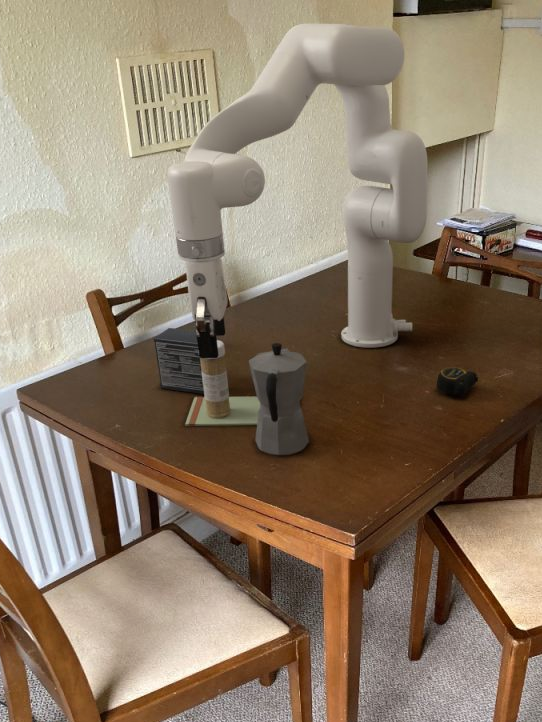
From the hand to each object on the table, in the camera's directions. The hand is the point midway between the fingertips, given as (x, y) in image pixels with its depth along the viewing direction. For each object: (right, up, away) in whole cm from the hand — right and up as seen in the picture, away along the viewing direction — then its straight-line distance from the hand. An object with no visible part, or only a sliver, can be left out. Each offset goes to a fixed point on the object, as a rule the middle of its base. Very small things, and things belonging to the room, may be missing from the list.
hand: (212, 345), depth 134 cm
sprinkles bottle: (0, -11, +7) cm, 13 cm away
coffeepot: (+12, -18, -2) cm, 22 cm away
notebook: (+4, -10, +8) cm, 14 cm away
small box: (-7, -4, +18) cm, 20 cm away
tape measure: (+45, -6, +15) cm, 48 cm away
